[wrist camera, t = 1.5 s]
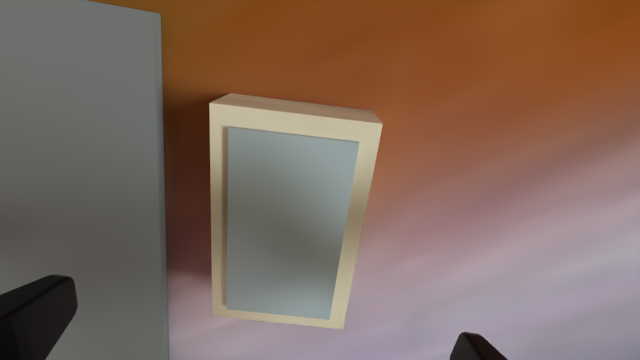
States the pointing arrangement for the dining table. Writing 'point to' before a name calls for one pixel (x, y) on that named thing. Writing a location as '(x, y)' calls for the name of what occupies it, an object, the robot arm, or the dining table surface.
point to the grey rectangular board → (86, 169)
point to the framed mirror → (287, 207)
